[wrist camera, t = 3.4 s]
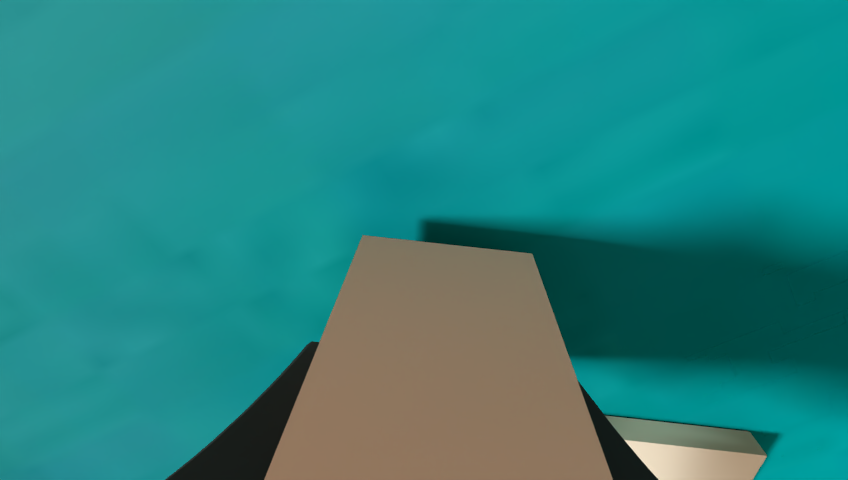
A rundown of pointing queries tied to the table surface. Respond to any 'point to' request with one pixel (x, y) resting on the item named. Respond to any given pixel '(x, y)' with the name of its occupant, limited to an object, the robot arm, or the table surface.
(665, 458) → the socket board
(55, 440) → the table surface
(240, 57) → the table surface
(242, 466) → the robot arm
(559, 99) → the table surface
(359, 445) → the square peg
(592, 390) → the table surface
